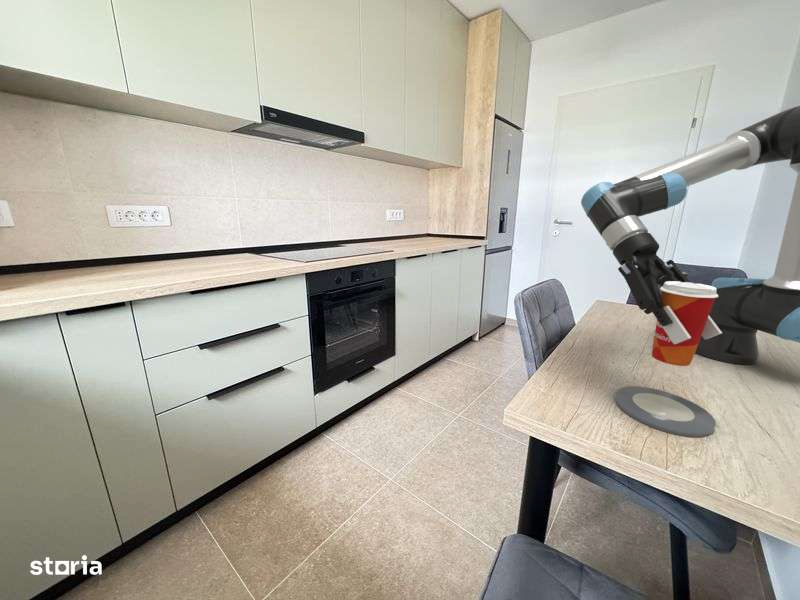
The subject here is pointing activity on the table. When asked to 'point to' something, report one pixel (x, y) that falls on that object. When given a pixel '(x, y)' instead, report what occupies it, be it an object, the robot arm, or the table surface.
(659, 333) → the coffee cup
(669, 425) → the saucer
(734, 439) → the table surface
